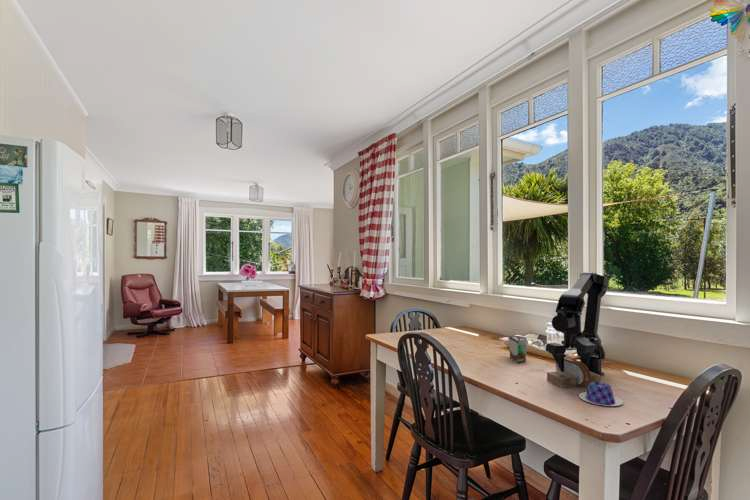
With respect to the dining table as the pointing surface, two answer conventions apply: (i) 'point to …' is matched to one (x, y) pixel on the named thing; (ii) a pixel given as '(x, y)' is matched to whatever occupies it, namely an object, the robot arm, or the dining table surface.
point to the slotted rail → (568, 378)
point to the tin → (576, 371)
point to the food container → (518, 348)
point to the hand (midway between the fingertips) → (573, 371)
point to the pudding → (600, 394)
